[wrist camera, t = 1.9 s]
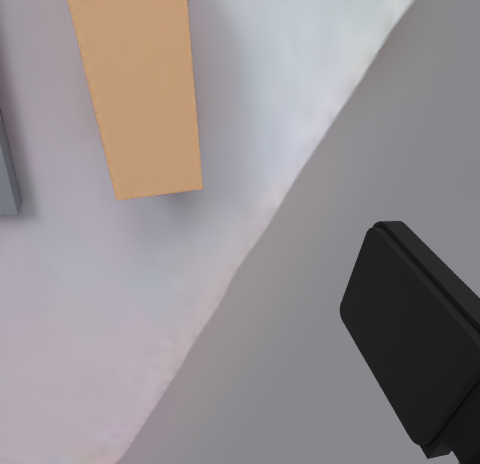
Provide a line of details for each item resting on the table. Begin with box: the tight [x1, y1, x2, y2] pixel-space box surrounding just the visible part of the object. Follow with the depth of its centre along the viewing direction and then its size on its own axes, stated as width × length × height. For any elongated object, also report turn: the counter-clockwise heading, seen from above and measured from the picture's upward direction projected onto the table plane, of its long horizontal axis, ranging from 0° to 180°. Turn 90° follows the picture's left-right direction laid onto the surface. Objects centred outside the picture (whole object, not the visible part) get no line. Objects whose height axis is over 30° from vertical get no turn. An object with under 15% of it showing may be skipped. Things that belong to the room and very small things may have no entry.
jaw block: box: [68, 0, 203, 201], centre depth 22 cm, size 12×5×7 cm, turn 1°
